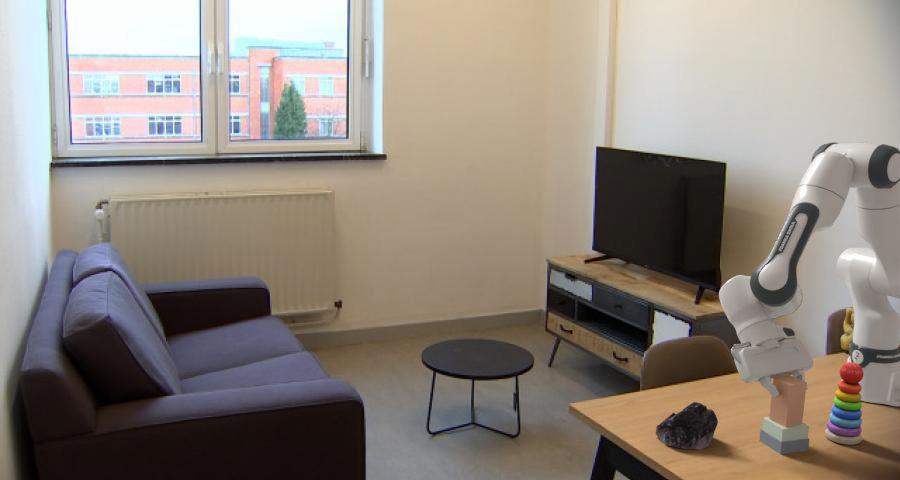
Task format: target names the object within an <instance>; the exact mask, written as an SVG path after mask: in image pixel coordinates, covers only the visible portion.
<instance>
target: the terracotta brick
mask: <svg viewBox="0 0 900 480" xmlns="http://www.w3.org/2000/svg"><path fill="white" fill-rule="evenodd" d="M772 384H773V385H774V386H775V387H779V389H780V391H781V392H782V394H781V395H780V396H779V397H775V398H773V397H772V396H771V395H770V397H771V399H770V408H769V416H768V417H769V419H770V420H772V421H774V422H776V423H778V424H780V425H782V426H784V427H790V426H795V425H800V424H802V422H803V420H804V412H805V411H804V410H805V409H804V408H805V401H806V392H807V390H806V385H807V382H806V380H805V381H802V380H800V379H798V378H795V377H793V375H788V376H782V377H776V378H773V379H772Z"/></svg>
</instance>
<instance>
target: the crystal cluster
mask: <svg viewBox="0 0 900 480" xmlns="http://www.w3.org/2000/svg"><path fill="white" fill-rule="evenodd" d="M718 424H719V421H718V418H717V415H716V413H715V411H714V410H713V409H711V408H709V409H708V407H707V406H706V405H705V404H703V403H701V402H697V401H694V402H692V403H690V404H688V405H686V407H684V408H683V409H682V410H681V411H679V412H678V413H676V412H673V413H671V414H670V415H668V417H666V418H665V419H664V420H663V421H662V422H660V424H657V425H656V428H655V433H654V434H655V435H656V436H657V437H658V438H659V439H660V441H661V443H663V444H665V445H666V446H668V447H669V446H670V447H674V448H678V449H684V450H685V449H687V450H691V449H692V450H701V451H702V450H704V449H705V448H708V447H709V446H710V444H711V442H712V440H713V439H714V434H715V432H716V429H717V426H718Z"/></svg>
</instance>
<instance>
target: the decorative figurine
mask: <svg viewBox="0 0 900 480" xmlns="http://www.w3.org/2000/svg"><path fill="white" fill-rule="evenodd" d="M853 331H854V306H852V307H847V308H846V310H845V318H844V321H843V332H844V334H842V335H841V337H840V347H841V349H842V350H844V354H848V353H849V351H850V344H851V340H852V339H853Z"/></svg>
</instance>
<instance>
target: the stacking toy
mask: <svg viewBox="0 0 900 480" xmlns="http://www.w3.org/2000/svg"><path fill="white" fill-rule="evenodd" d="M839 376H840V378H841V380H843V381H841V380H840V381H839V382H838V383H837V388H838V389H836V390H835V397H834V398H833V405H832V406H831V413H830V414H829V420H828V421H827V423H826V429H825V431H824V434H825V437H827V439H828V440H830V441H832V442H834V443H838V444H841V445H849V446H850V445H851V446H853V445H858V444H860V443H861V442H862V441H863V435H862V429H863V428H862V424H863V419H862V415H863V411H862V410H861V409H862V407H863V403H862V402H861V394H860V393H859V392H860V391H861V390H862V386H861V385H860V384H859V382H860V381H861V380H862V378H863V376H864V372H863V369H862V367H861V366H860V365H859V364H857V363H854V362H848V363H847V362H846V363H844V364H842V365H841V367H840V369H839Z"/></svg>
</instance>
